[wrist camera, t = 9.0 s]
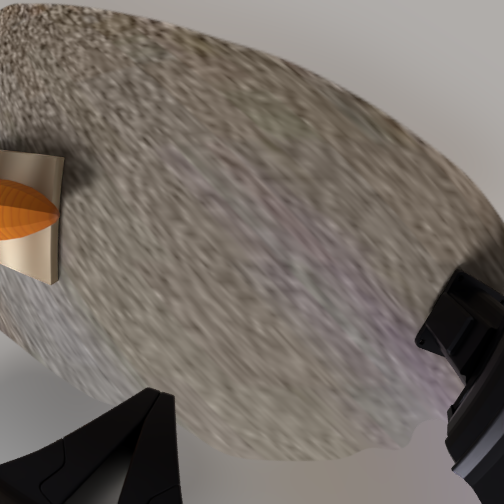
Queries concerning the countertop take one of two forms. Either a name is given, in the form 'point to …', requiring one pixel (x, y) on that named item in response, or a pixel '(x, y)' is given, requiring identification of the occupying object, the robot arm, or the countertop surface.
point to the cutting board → (42, 242)
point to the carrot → (23, 210)
